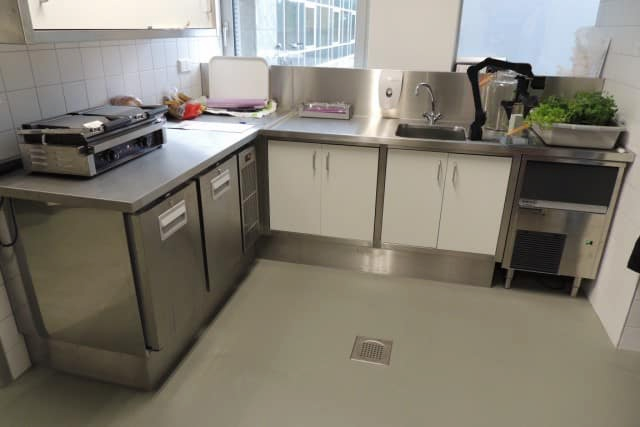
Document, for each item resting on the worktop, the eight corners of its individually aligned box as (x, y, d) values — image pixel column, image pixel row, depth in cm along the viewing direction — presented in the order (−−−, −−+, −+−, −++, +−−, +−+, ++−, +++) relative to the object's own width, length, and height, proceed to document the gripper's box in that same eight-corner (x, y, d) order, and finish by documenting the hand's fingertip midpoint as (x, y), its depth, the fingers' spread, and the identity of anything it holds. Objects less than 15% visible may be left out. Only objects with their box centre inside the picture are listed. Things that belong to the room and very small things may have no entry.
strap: (506, 137, 241) (505, 135, 241) (503, 136, 244) (502, 134, 243) (530, 126, 241) (529, 124, 240) (527, 125, 243) (526, 123, 243)
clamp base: (507, 146, 239) (509, 136, 237) (497, 141, 249) (498, 131, 247) (536, 145, 241) (538, 135, 239) (525, 141, 251) (527, 130, 249)
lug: (528, 145, 241) (530, 136, 239) (526, 144, 243) (527, 135, 241) (532, 145, 241) (534, 136, 239) (529, 144, 244) (531, 135, 242)
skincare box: (511, 137, 259) (515, 115, 254) (506, 135, 263) (510, 114, 258) (521, 136, 260) (525, 115, 256) (516, 135, 264) (520, 113, 260)
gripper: (516, 91, 226) (510, 123, 232) (548, 90, 231) (542, 122, 237) (502, 88, 236) (497, 119, 242) (533, 87, 241) (527, 117, 247)
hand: (516, 119), depth 242 cm, fingers open, 9 cm apart
